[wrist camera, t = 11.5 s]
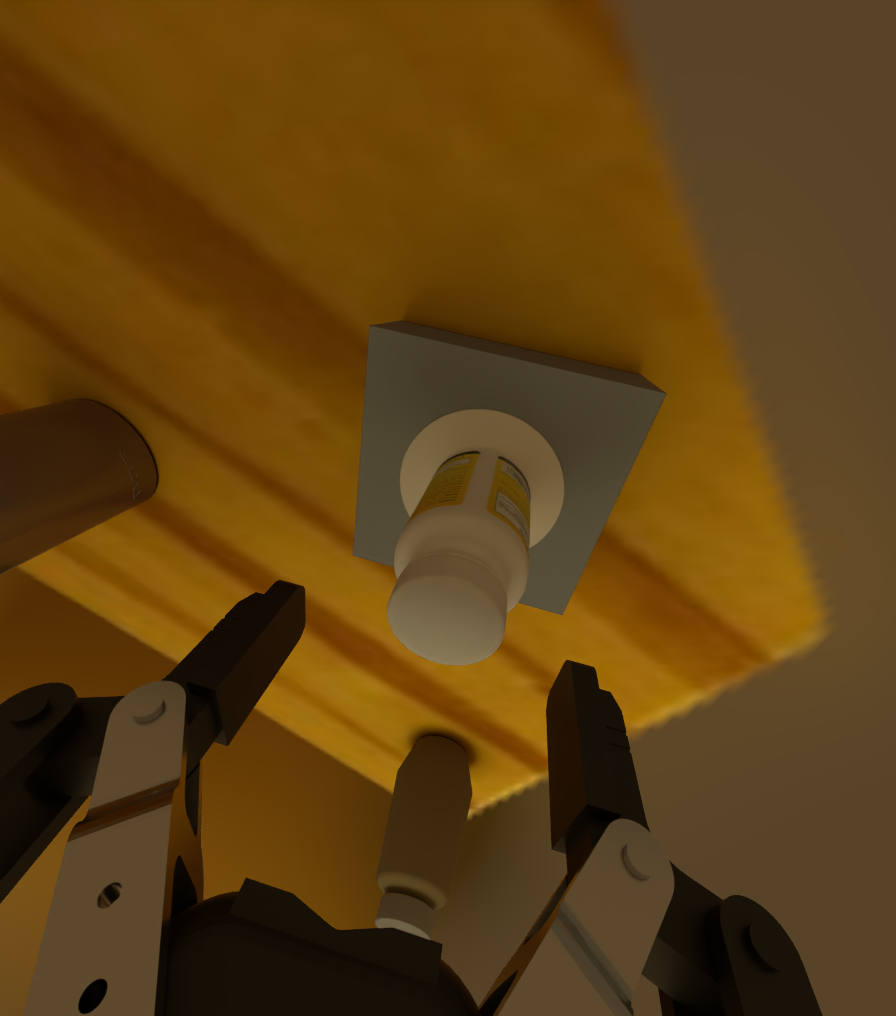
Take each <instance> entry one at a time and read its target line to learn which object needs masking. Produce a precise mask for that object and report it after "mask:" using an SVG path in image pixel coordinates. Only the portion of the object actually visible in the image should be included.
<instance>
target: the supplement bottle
mask: <svg viewBox="0 0 896 1016" xmlns="http://www.w3.org/2000/svg"><path fill="white" fill-rule="evenodd" d="M530 501H531V495H530V488H529V484H528V481H527V479H526V476H525V474H524V473H523V471H522V470H521V468H520V467H519V466H518V465H517V464H516V463H515V462H514V461H513V460H512V459H510V458H509V457H507V456H506V455H504V454H502V453H500V452H497V451H494V450H490V449H484V448H473V449H466V450H463V451H460V452H457V453H455V454H453V455H452V456H450V457H449V458H447V459H446V460H445V461H444V462H443V463H442V464H441V465H440V467H439V468H438V469H437V471H436V472H435V474H434V475H433V477H432V479H431V481H430V483H429V485H428V487H427V489H426V491H425V492H424V494H423V496H422V498H421V500H420V501H419V503H418V505H417V507H416V508H415V510H414V512H413V514H412V515H411V517H410V519H409V521H408V522H407V524H406V526H405V527H404V529H403V531H402V533H401V535H400V537H399V540H398V542H397V545H396V548H395V553H394V569H395V574H396V578H397V582H396V585H395V587H394V589H393V592H392V594H391V596H390V599H389V602H388V606H387V617H388V622H389V625H390V627H391V629H392V631H393V633H394V634H395V636H396V637H397V638H398V639H399V641H400V642H401V643H402V644H403V645H404V646H406V647H407V648H408V649H409V650H411V651H412V652H414V653H415V654H417V655H419V656H421V657H423V658H425V659H428V660H430V661H433V662H437V663H440V664H446V665H467V664H473V663H477V662H479V661H482V660H484V659H486V658H487V657H489V656H490V655H492V654H493V653H494V652H495V651H496V650H497V649H498V647H499V646H500V644H501V642H502V640H503V637H504V633H505V625H506V617H507V613H508V612H509V611H510V610H511V609H513V608H514V607H515V606H516V604H517V603H518V602H519V600H520V599H521V597H522V595H523V593H524V591H525V588H526V584H527V580H528V573H529V544H530V504H531V502H530Z"/></svg>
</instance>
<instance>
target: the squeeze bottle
mask: <svg viewBox="0 0 896 1016" xmlns="http://www.w3.org/2000/svg"><path fill="white" fill-rule="evenodd" d="M471 798H472V787H471V780H470V773H469V766H468V759H467V755H466V752H465V750H464V749H463V748H462V747H461V746H460V745H459V744H458V743H456V742H454V741H452V740H450V739H448V738H444V737H441V736H426V737H422V738H420V739H419V740H418V741H417V742H416V744H415V745H414V747H413V748H412V750H411V751H410V753H409V754H408V756H407V757H406V759H405V760H404V762H403V763H402V765H401V766H400V768H399V769H398V772H397V777H396V782H395V787H394V792H393V797H392V802H391V806H390V811H389V816H388V822H387V826H386V831H385V836H384V841H383V846H382V851H381V856H380V861H379V865H378V870H377V876H376V880H377V882H378V885H379V887H380V889H381V890H382V891H383V893H384V895H383V896H382V898H381V902H380V906H379V909H378V913H377V917H376V922H375V924H376V926H377V927H378V928H390V927H393V928H396V929H399V930H402V931H405V932H408V933H411V934H414V935H417V936H420V937H423V938H426V939H429V940H431V936H432V930H433V924H434V918H435V913H434V910H437V909H440V908H441V907H443V906H444V905H445V904H446V903H447V901H448V899H449V895H450V891H451V887H452V882H453V877H454V873H455V869H456V864H457V860H458V855H459V851H460V847H461V842H462V837H463V833H464V829H465V824H466V820H467V816H468V811H469V807H470V802H471Z"/></svg>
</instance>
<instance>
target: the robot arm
mask: <svg viewBox="0 0 896 1016" xmlns="http://www.w3.org/2000/svg"><path fill="white" fill-rule="evenodd" d="M156 482H157V475H156V468H155V465H154V462H153V459H152V456H151V454H150V452H149V450H148V448H147V446H146V445H145V443H144V442H143V440H142V439H141V438H140V436H139V435H138V434H137V432H136V431H135V430H134V429H133V428H132V427H131V426H130V425H129V424H128V423H127V422H126V421H125V420H124V419H123V418H121V417H120V416H119V415H118V414H116V413H115V412H113V411H112V410H110V409H109V408H107V407H105V406H103V405H101V404H99V403H96V402H93V401H89V400H85V399H74V400H69V401H64V402H59V403H55V404H50V405H45V406H41V407H36V408H31V409H26V410H22V411H16V412H11V413H6V414H2V415H0V574H2V573H4V572H6V571H8V570H10V569H12V568H14V567H16V566H18V565H20V564H22V563H24V562H26V561H28V560H30V559H32V558H34V557H36V556H38V555H40V554H42V553H44V552H46V551H48V550H50V549H52V548H54V547H55V546H57V545H59V544H61V543H63V542H65V541H67V540H69V539H71V538H73V537H75V536H77V535H79V534H81V533H83V532H85V531H87V530H89V529H91V528H93V527H95V526H97V525H99V524H101V523H103V522H105V521H107V520H109V519H111V518H112V517H114V516H116V515H118V514H120V513H122V512H124V511H126V510H128V509H130V508H132V507H134V506H136V505H138V504H140V503H142V502H144V501H146V500H148V499H149V498H150V497H151V496H152V494H153V493H154V490H155V488H156ZM305 622H306V615H305V588H304V587H303V586H301V585H297V584H293V583H290V582H286V581H282V580H278V581H276V582H275V583H274V584H273V585H272V586H271V587H270V588H269V590H268V591H267V592H266V593H265V594H261V593H257V592H255V593H254V594H252V595H250V596H248V597H247V598H245V599H243V600H241V601H239V602H238V603H237V604H236V605H235V606H234V607H233V608H232V609H231V610H230V611H229V612H228V613H227V614H226V615H225V618H224V619H222V620H221V621H220V622H219V623H218V624H217V625H216V626H215V627H214V629H213V630H211V631H210V632H209V633H208V634H207V635H206V636H205V637H204V638H203V639H202V640H201V641H200V642H199V643H198V645H197V646H196V647H195V648H194V649H193V650H192V651H191V652H190V653H189V654H188V655H187V656H186V657H185V658H184V659H183V660H182V661H181V662H180V663H179V664H178V665H177V666H176V668H175V669H174V670H173V671H172V672H171V673H170V674H169V675H167V676H166V677H165V678H164V679H163V680H162V681H157V682H152V683H149V684H146V685H143V686H141V687H139V688H137V689H135V690H133V691H132V692H130V693H129V694H127V695H126V696H116V697H92V698H78V697H77V695H76V693H75V691H74V690H73V688H72V687H70V686H69V685H67V684H63V683H46V684H41V685H38V686H34V687H31V688H29V689H26V690H24V691H22V692H20V693H18V694H16V695H14V696H12V697H11V698H9V699H7V700H6V701H5V702H3V703H2V704H1V705H0V903H1V902H2V901H3V900H4V898H5V897H6V896H7V895H8V894H9V892H10V891H11V890H12V889H13V888H14V886H15V885H16V884H17V883H18V881H19V880H20V879H21V878H22V877H23V875H24V874H25V873H26V872H27V871H28V869H29V868H30V867H31V866H32V865H33V863H34V862H35V861H36V860H37V858H38V857H39V856H40V855H41V854H42V852H43V851H44V850H45V849H46V848H47V846H48V845H49V844H50V843H51V841H52V840H53V839H54V838H55V837H56V835H57V834H58V833H59V832H60V831H61V829H62V828H63V827H64V826H65V824H66V823H67V822H68V821H69V820H70V818H71V817H72V816H73V815H74V813H75V812H76V811H77V810H78V809H79V807H80V806H81V805H82V804H83V803H84V801H85V800H86V799H87V798H88V796H89V795H92V797H91V801H90V805H89V809H88V812H87V815H86V817H85V818H84V820H83V821H80V822H78V823H77V824H76V825H75V826H74V827H73V829H72V831H71V833H70V835H69V838H68V841H67V844H66V847H65V851H64V855H63V859H62V863H61V867H60V871H59V875H58V879H57V883H56V887H55V891H54V895H53V899H52V903H51V907H50V911H49V915H48V919H47V923H46V927H45V931H44V935H43V939H42V943H41V947H40V951H39V955H38V959H37V963H36V967H35V971H34V975H33V979H32V983H31V987H30V991H29V995H28V999H27V1003H26V1007H25V1011H24V1015H23V1016H633V1009H632V1007H631V1000H632V996H633V993H634V990H635V987H636V985H637V982H638V980H639V977H640V975H641V974H642V975H644V976H645V977H646V978H647V979H649V980H650V981H651V982H652V983H654V984H655V985H656V986H657V987H658V990H659V997H660V1003H661V1010H662V1016H822V1013H821V1011H820V1008H819V1006H818V1003H817V1000H816V997H815V995H814V992H813V989H812V987H811V984H810V981H809V978H808V976H807V973H806V971H805V968H804V965H803V963H802V961H801V958H800V956H799V953H798V951H797V950H796V948H795V946H794V944H793V942H792V941H791V939H790V938H789V936H788V935H787V933H786V932H785V930H784V929H783V928H782V926H781V925H780V924H779V923H778V922H777V920H776V919H775V918H774V917H773V916H772V915H771V914H770V913H769V912H768V911H767V910H765V909H764V908H763V907H762V906H761V905H759V904H758V903H756V902H755V901H753V900H751V899H749V898H747V897H744V896H740V895H733V896H729V897H728V898H726V899H724V900H722V899H721V898H719V897H718V896H716V895H715V894H713V893H712V892H710V891H709V890H707V889H706V888H705V887H703V886H702V885H700V884H699V883H697V882H696V881H694V880H693V879H691V878H690V877H688V876H687V875H686V874H684V873H683V872H682V871H680V870H679V869H678V868H676V866H674V865H673V864H672V863H671V862H670V860H669V859H668V857H667V855H666V853H665V851H664V849H663V848H662V846H661V845H660V843H659V842H658V841H657V839H656V838H655V837H654V836H653V835H652V834H651V832H650V830H649V827H648V825H647V821H646V818H645V813H644V809H643V804H642V800H641V795H640V791H639V786H638V782H637V777H636V773H635V769H634V764H633V760H632V755H631V753H630V746H629V742H628V737H627V736H626V728H625V724H624V719H623V715H622V711H621V709H620V708H619V706H618V704H617V702H616V701H615V699H614V697H613V696H612V694H611V692H609V691H605V690H601V689H599V684H598V679H597V673H596V670H595V668H594V667H592V666H588V665H585V664H581V663H577V662H574V661H570V660H566V661H565V663H564V664H563V666H562V668H561V670H560V672H559V674H558V676H557V678H556V680H555V682H554V684H553V686H552V688H551V690H550V693H549V696H548V700H547V707H546V720H547V745H548V770H549V794H550V818H551V819H550V820H551V844H552V850H555V851H559V852H562V853H565V854H566V859H567V873H566V874H565V875H564V877H563V878H562V880H561V882H560V883H559V885H558V887H557V888H556V890H555V891H554V893H553V894H552V896H551V897H550V899H549V901H548V902H547V904H546V905H545V907H544V908H543V910H542V912H541V913H540V915H539V916H538V918H537V920H536V921H535V923H534V924H533V926H532V927H531V929H530V931H529V932H528V934H527V936H526V937H525V938H524V940H523V942H522V943H521V945H520V946H519V948H518V949H517V951H516V952H515V953H514V955H513V956H512V957H511V959H510V960H509V961H508V963H507V964H506V966H505V967H504V968H503V970H502V971H501V973H500V974H499V976H498V977H497V979H496V980H495V982H494V983H493V985H492V986H491V988H490V990H489V991H488V993H487V994H486V996H485V997H484V999H483V1001H482V1002H481V1004H480V1005H479V1007H478V1006H477V1004H476V1003H475V1001H474V999H473V997H472V995H471V994H470V992H469V990H468V989H467V988H466V986H465V985H464V983H463V982H462V981H461V979H460V978H459V976H458V975H457V974H456V973H455V972H454V971H453V970H452V969H451V968H450V966H449V965H447V964H446V963H445V962H444V961H443V960H441V952H442V944H440V943H437V942H435V941H432V940H429V939H426V938H423V937H420V936H417V935H414V934H411V933H408V932H405V931H402V930H399V929H396V928H393V927H390V928H372V929H353V930H337V929H335V928H333V927H332V926H330V925H329V924H328V923H327V922H326V921H324V920H323V919H322V918H321V917H320V916H318V915H317V914H316V913H315V912H314V911H313V910H311V909H310V908H309V907H308V906H307V905H306V904H304V903H303V902H302V901H301V900H300V899H299V898H297V897H296V896H295V895H294V894H293V893H290V892H287V891H284V890H281V889H278V888H275V887H272V886H269V885H266V884H263V883H260V882H257V881H254V880H251V879H248V878H246V879H245V881H244V883H243V885H242V887H241V889H240V891H239V892H229V893H225V894H220V895H217V896H214V897H211V898H209V899H206V900H203V895H204V870H203V857H202V848H201V822H202V787H203V786H202V785H203V756H204V755H205V753H206V752H207V750H208V749H209V748H210V746H211V745H212V743H213V742H216V743H219V744H223V745H225V746H228V745H229V743H230V742H231V740H232V739H233V738H234V736H235V734H236V733H237V732H238V730H239V729H240V727H241V726H242V724H243V723H244V721H245V720H246V718H247V717H248V715H249V714H250V712H251V711H252V709H253V708H254V706H255V705H256V703H257V702H258V701H259V699H260V698H261V696H262V695H263V693H264V692H265V690H266V689H267V687H268V686H269V684H270V683H271V681H272V680H273V678H274V677H275V675H276V674H277V672H278V671H279V669H280V668H281V666H282V665H283V663H284V662H285V661H286V659H287V658H288V656H289V655H290V653H291V652H292V650H293V649H294V647H295V646H296V644H297V643H298V641H299V639H300V638H301V635H302V633H303V630H304V627H305Z"/></svg>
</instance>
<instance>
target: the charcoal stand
mask: <svg viewBox="0 0 896 1016" xmlns="http://www.w3.org/2000/svg"><path fill="white" fill-rule="evenodd" d="M665 396H666V393H665V392H664V391H662V390H661V389H659V388H658V387H657V386H655V385H654V384H652V383H651V382H650V381H648V380H647V379H646V378H644V377H643V376H641V375H639V374H634V373H630V372H626V371H621V370H617V369H612V368H608V367H603V366H599V365H595V364H590V363H586V362H581V361H577V360H573V359H568V358H564V357H559V356H555V355H550V354H546V353H542V352H537V351H533V350H528V349H524V348H520V347H515V346H511V345H506V344H502V343H497V342H493V341H489V340H484V339H480V338H475V337H471V336H467V335H462V334H458V333H453V332H449V331H444V330H440V329H436V328H431V327H427V326H422V325H418V324H414V323H409V322H405V321H397V322H391V323H384V324H377V325H370V329H369V343H368V356H367V370H366V384H365V398H364V411H363V425H362V439H361V453H360V466H359V480H358V494H357V507H356V521H355V535H354V549H353V556H357V557H360V558H364V559H367V560H371V561H374V562H378V563H381V564H385V565H388V566H392V567H394V553H395V548H396V545H397V542H398V540H399V537H400V535H401V533H402V531H403V529H404V527H405V526H406V524H407V522H408V521H409V519H410V517H411V515H412V514H413V512H414V510H415V508H416V507H417V505H418V503H419V501H420V500H421V498H422V496H423V494H424V492H425V491H426V489H427V487H428V485H429V483H430V481H431V479H432V477H433V475H434V474H435V472H436V471H437V469H438V468H439V467H440V465H441V464H442V463H443V462H444V461H445V460H446V459H447V458H449V457H450V456H452V455H453V454H455V453H457V452H460V451H463V450H466V449H473V448H484V449H490V450H494V451H497V452H500V453H502V454H504V455H506V456H507V457H509V458H510V459H512V460H513V461H514V462H515V463H516V464H517V465H518V466H519V467H520V468H521V470H522V471H523V473H524V474H525V476H526V479H527V481H528V484H529V488H530V495H531V501H530V502H531V504H530V544H529V573H528V580H527V584H526V588H525V591H524V593H523V595H522V597H521V599H520V600H519V602H518V603H521V604H525V605H528V606H532V607H535V608H539V609H542V610H546V611H549V612H553V613H556V614H560V615H563V613H564V610H565V608H566V606H567V604H568V602H569V600H570V598H571V596H572V593H573V591H574V589H575V587H576V585H577V583H578V581H579V579H580V576H581V574H582V572H583V570H584V568H585V566H586V564H587V562H588V559H589V557H590V555H591V553H592V551H593V549H594V547H595V544H596V542H597V540H598V538H599V536H600V534H601V532H602V530H603V527H604V525H605V523H606V521H607V519H608V517H609V515H610V513H611V510H612V508H613V506H614V504H615V502H616V500H617V498H618V496H619V493H620V491H621V489H622V487H623V485H624V483H625V481H626V479H627V476H628V474H629V472H630V470H631V468H632V466H633V464H634V461H635V459H636V457H637V455H638V453H639V451H640V449H641V447H642V444H643V442H644V440H645V438H646V436H647V434H648V432H649V430H650V427H651V425H652V423H653V421H654V419H655V417H656V415H657V413H658V410H659V408H660V406H661V404H662V402H663V400H664V398H665Z"/></svg>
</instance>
